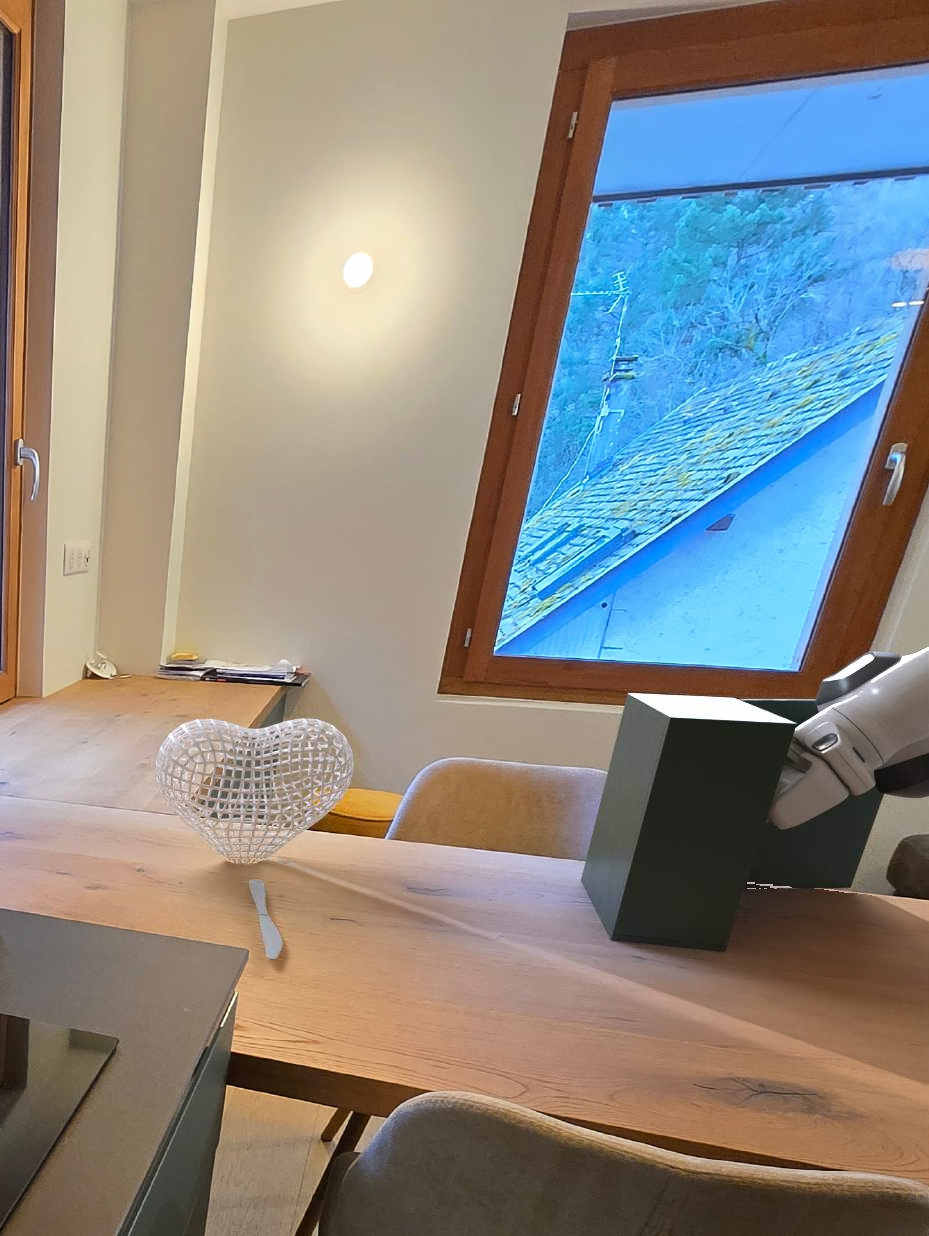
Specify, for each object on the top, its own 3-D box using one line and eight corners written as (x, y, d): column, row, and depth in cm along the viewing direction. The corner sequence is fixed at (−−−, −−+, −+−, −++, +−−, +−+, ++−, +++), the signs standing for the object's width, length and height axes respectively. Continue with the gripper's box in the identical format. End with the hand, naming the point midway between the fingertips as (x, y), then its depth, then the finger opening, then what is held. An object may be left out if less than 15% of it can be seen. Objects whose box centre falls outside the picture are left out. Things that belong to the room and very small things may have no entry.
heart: (324, 851, 161) (344, 708, 151) (350, 886, 147) (373, 731, 137) (145, 850, 163) (154, 709, 154) (154, 884, 149) (163, 731, 140)
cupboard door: (654, 886, 147) (708, 693, 136) (808, 887, 147) (874, 694, 137) (684, 901, 141) (743, 699, 130) (845, 902, 141) (917, 701, 130)
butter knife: (269, 879, 144) (248, 877, 144) (287, 960, 120) (261, 957, 120) (269, 883, 144) (247, 881, 144) (286, 964, 120) (260, 961, 121)
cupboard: (675, 900, 142) (734, 697, 131) (723, 956, 122) (797, 723, 112) (578, 890, 145) (627, 693, 135) (609, 943, 126) (670, 717, 115)
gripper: (779, 720, 129) (669, 790, 136) (845, 746, 111) (715, 826, 118) (810, 758, 130) (699, 826, 136) (881, 790, 112) (749, 867, 119)
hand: (707, 826), depth 127 cm, fingers open, 8 cm apart
